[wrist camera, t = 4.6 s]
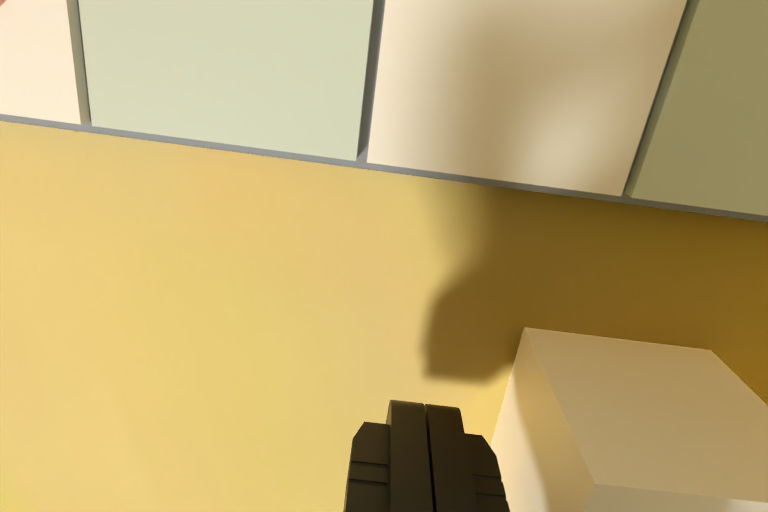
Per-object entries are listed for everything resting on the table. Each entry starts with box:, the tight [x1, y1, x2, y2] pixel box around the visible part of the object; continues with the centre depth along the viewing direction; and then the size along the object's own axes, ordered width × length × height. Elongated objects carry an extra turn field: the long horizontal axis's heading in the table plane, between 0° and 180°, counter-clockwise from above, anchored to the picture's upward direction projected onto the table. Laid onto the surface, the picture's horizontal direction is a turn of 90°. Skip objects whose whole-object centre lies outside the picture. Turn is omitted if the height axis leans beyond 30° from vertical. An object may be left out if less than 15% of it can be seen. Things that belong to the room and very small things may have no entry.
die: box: [490, 327, 768, 512], centre depth 10 cm, size 4×4×5 cm
